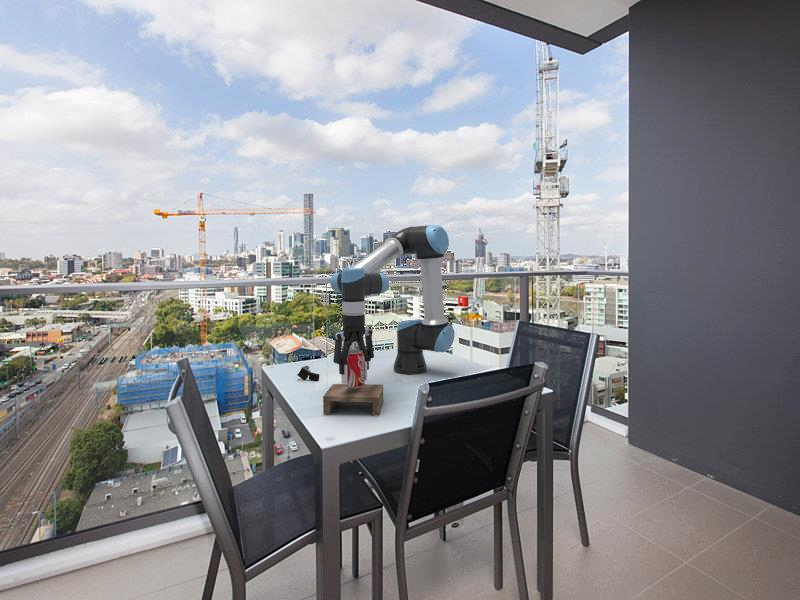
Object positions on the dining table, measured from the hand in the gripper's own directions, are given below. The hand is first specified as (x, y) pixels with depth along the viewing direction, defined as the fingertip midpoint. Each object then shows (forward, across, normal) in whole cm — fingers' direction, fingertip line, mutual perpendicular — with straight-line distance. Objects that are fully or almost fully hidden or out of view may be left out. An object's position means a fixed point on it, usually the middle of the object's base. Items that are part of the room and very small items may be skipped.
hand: (354, 381), depth 137 cm
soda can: (+2, 0, 0) cm, 2 cm away
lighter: (+9, -2, -40) cm, 42 cm away
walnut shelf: (+9, 0, 0) cm, 9 cm away
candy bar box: (+9, -28, -48) cm, 57 cm away
